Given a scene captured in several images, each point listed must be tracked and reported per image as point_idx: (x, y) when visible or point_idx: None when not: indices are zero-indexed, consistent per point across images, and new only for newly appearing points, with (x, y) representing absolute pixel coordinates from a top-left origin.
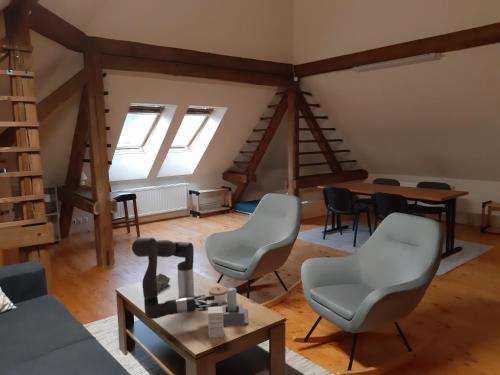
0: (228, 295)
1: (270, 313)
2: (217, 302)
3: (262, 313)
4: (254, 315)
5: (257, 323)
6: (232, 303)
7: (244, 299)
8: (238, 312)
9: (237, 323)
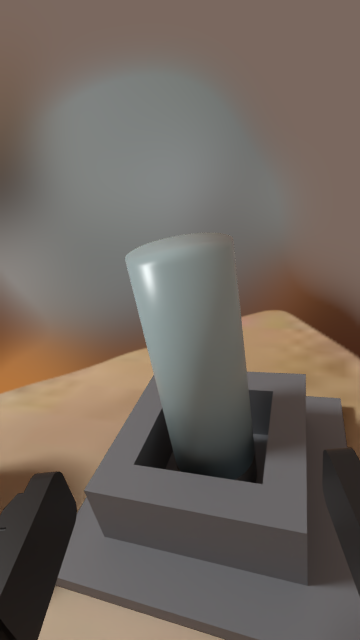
0: (217, 310)
1: None
2: (353, 451)
3: None
4: None
5: (322, 370)
6: (245, 364)
7: (22, 391)
8: (283, 394)
9: None
